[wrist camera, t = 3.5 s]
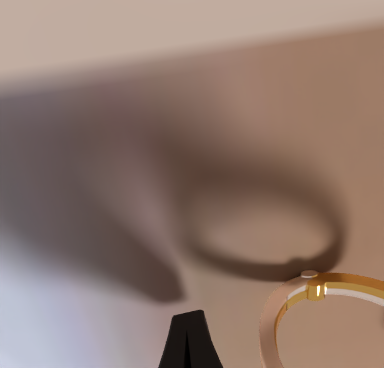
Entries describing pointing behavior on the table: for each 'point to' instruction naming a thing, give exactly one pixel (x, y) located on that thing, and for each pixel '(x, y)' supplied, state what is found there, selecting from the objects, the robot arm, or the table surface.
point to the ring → (312, 290)
